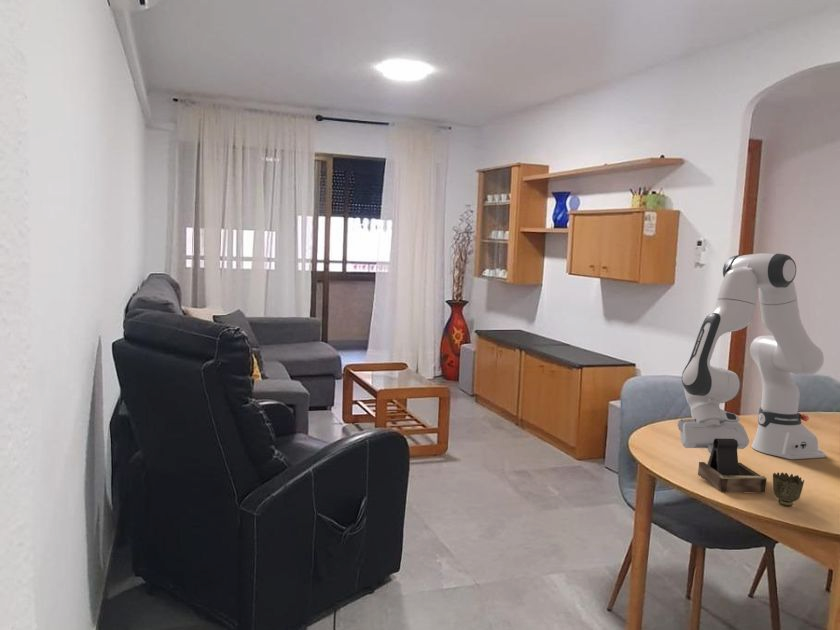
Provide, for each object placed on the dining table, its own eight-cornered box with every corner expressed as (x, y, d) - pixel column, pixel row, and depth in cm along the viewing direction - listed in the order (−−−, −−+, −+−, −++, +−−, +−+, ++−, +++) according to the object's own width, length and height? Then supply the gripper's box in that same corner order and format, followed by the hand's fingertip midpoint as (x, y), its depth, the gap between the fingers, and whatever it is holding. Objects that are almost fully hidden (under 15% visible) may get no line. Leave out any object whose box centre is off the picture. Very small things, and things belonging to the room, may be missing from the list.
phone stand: (739, 483, 194) (743, 444, 192) (720, 483, 193) (724, 443, 192) (723, 472, 203) (727, 434, 201) (705, 472, 202) (708, 434, 201)
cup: (805, 512, 175) (808, 483, 174) (775, 509, 176) (778, 480, 175) (795, 501, 182) (798, 473, 181) (766, 498, 183) (769, 470, 182)
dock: (739, 475, 201) (740, 461, 200) (765, 492, 187) (766, 477, 187) (697, 474, 200) (699, 460, 199) (721, 492, 186) (722, 477, 186)
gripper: (680, 414, 204) (692, 455, 195) (743, 415, 205) (758, 456, 197) (672, 423, 209) (683, 464, 200) (734, 425, 210) (748, 465, 202)
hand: (721, 460), depth 199 cm, fingers closed, pressing on phone stand
